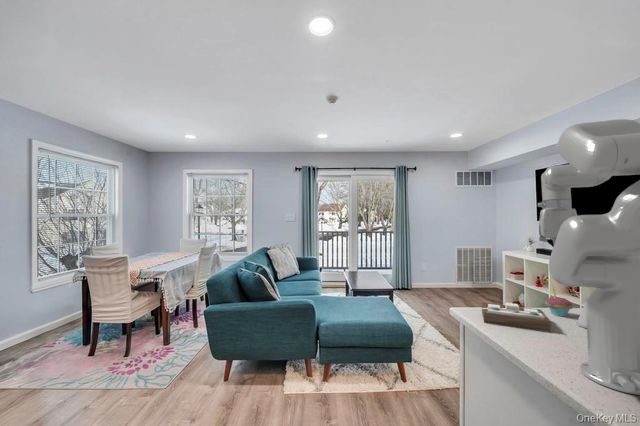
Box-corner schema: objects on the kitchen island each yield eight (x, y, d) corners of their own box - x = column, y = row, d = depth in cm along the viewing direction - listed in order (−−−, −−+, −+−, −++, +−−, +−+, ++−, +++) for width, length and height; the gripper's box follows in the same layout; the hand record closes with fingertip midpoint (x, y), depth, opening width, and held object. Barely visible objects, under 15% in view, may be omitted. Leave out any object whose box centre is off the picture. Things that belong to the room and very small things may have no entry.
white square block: (500, 314, 106) (500, 307, 106) (488, 313, 108) (488, 306, 108) (499, 311, 110) (499, 305, 110) (488, 310, 112) (487, 303, 112)
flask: (610, 331, 94) (609, 302, 95) (586, 330, 96) (584, 301, 96) (594, 324, 101) (593, 297, 102) (571, 322, 103) (570, 296, 103)
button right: (539, 319, 101) (538, 312, 101) (525, 317, 102) (525, 311, 103) (536, 316, 104) (536, 309, 104) (523, 314, 106) (523, 308, 106)
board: (551, 332, 94) (550, 317, 94) (484, 322, 103) (483, 309, 103) (541, 319, 106) (540, 306, 106) (482, 312, 116) (481, 300, 116)
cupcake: (554, 317, 109) (553, 287, 109) (540, 310, 117) (539, 283, 117) (578, 318, 107) (577, 288, 108) (563, 311, 115) (562, 283, 116)
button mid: (519, 313, 103) (519, 306, 104) (506, 312, 105) (506, 305, 105) (517, 310, 107) (517, 304, 107) (505, 309, 109) (505, 302, 109)
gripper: (532, 205, 94) (535, 258, 92) (590, 203, 87) (594, 261, 85) (527, 207, 100) (530, 257, 99) (581, 206, 94) (584, 259, 92)
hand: (560, 258), depth 92 cm, fingers closed
